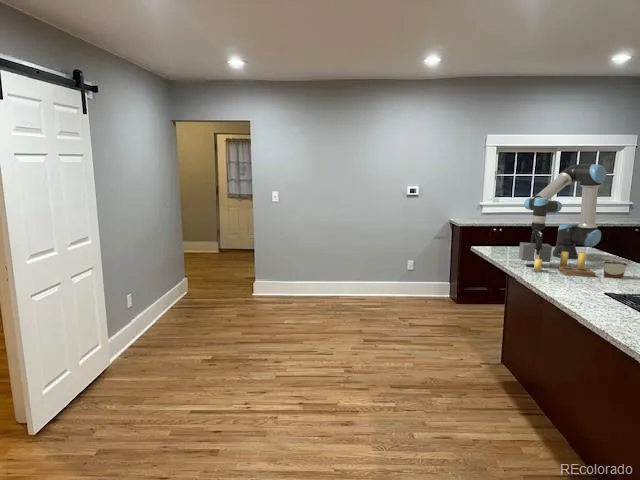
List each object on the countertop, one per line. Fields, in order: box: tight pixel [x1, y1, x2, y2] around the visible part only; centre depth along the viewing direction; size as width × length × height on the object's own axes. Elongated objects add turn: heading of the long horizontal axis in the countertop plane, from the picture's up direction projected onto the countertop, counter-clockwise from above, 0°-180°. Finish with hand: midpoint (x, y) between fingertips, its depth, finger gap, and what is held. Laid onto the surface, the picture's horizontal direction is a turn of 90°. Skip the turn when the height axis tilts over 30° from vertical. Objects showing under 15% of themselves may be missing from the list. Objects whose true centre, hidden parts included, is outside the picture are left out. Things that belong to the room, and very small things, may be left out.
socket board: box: [557, 265, 596, 278], centre depth 253 cm, size 12×16×2 cm
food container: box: [602, 258, 629, 280], centre depth 246 cm, size 12×6×10 cm, turn 71°
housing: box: [518, 241, 553, 263], centre depth 268 cm, size 8×16×10 cm, turn 79°
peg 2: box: [576, 251, 587, 268], centre depth 265 cm, size 4×4×10 cm
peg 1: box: [559, 251, 569, 267], centre depth 267 cm, size 4×4×10 cm
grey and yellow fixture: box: [531, 259, 558, 274], centre depth 256 cm, size 5×13×7 cm, turn 79°
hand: (534, 257), depth 268 cm, fingers closed on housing, 8 cm apart
